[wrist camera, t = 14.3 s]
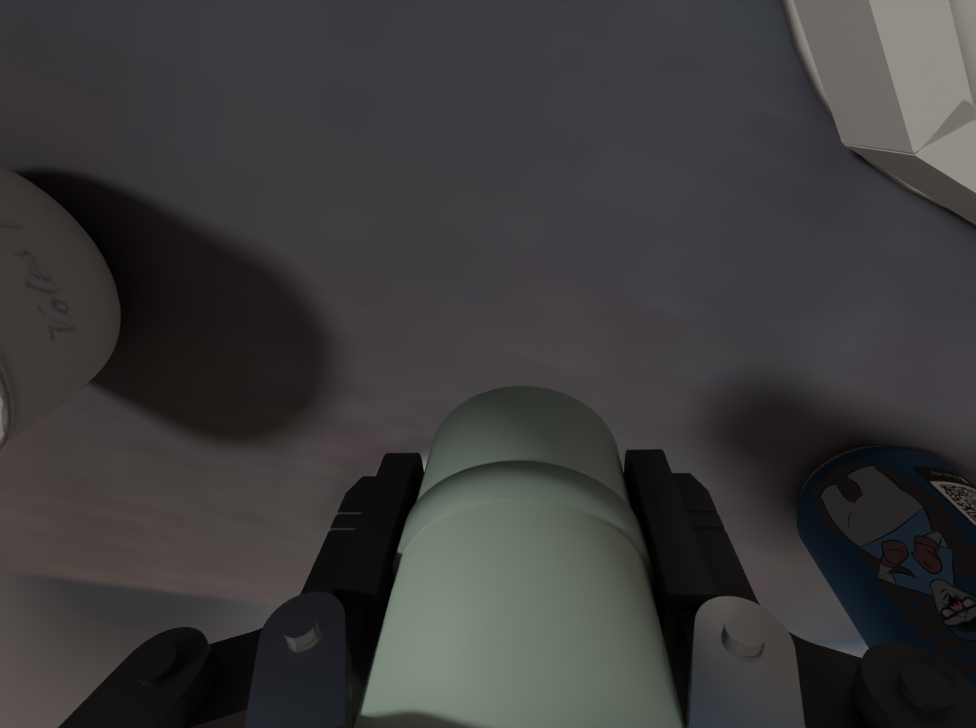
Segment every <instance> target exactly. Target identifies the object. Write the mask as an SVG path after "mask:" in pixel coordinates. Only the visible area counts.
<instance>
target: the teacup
mask: <svg viewBox="0 0 976 728" xmlns="http://www.w3.org/2000/svg"><path fill="white" fill-rule="evenodd" d="M120 323H121V310H120V302H119V297H118V293H117V288H116V285H115V282H114V279H113V276H112V274H111V272H110V270H109V268H108V266H107V264H106V262H105V260H104V258H103V256H102V254H101V253H100V251H99V249H98V248H97V246H96V245H95V243H94V242H93V240H92V239H91V238H90V236H89V235H88V234H87V232H86V231H85V230H84V229H83V228H82V227H81V225H80V224H79V223H78V222H77V221H76V220H75V219H74V218H73V217H72V216H71V214H70V213H69V212H68V211H66V210H65V209H64V208H63V207H62V206H61V205H60V204H59V203H58V202H57V201H55V200H54V199H53V198H52V197H50V196H49V195H48V194H47V193H45V192H44V191H43V190H41V189H40V188H38V187H37V186H36V185H34V184H33V183H31V182H30V181H28V180H27V179H25V178H23V177H22V176H20V175H18V174H16V173H15V172H13V171H11V170H9V169H7V168H6V167H4V166H2V165H0V451H1V449H2V448H3V447H4V446H5V444H7V443H8V442H9V441H11V440H12V439H14V438H15V437H16V436H18V435H19V434H21V433H22V432H24V431H25V430H26V429H28V428H29V427H31V426H32V425H34V424H35V423H36V422H38V421H39V420H41V419H42V418H43V417H45V416H46V415H47V414H49V413H50V412H51V411H53V410H54V409H55V408H57V407H58V406H59V405H61V404H62V403H63V402H65V401H66V400H67V399H69V398H70V397H71V396H73V395H74V394H75V393H76V392H78V391H79V390H80V389H81V388H83V387H84V386H85V385H86V384H87V383H88V382H89V381H90V380H91V379H92V378H94V377H95V376H96V374H97V373H98V372H99V371H100V370H101V369H102V368H103V367H104V365H105V364H106V362H107V361H108V360H109V358H110V356H111V354H112V353H113V351H114V348H115V346H116V343H117V340H118V337H119V332H120Z"/></svg>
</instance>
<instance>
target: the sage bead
mask: <svg viewBox="0 0 976 728" xmlns="http://www.w3.org/2000/svg"><path fill="white" fill-rule="evenodd" d="M392 571H393V575H394V579H395V580H394V584H393V588H392V591H391V595H390V598H389V602H388V606H387V609H386V613H385V617H384V620H383V624H382V627H381V631H380V635H379V638H378V642H377V646H376V649H375V653H374V656H373V660H372V664H371V667H370V671H369V674H368V678H367V682H366V685H365V689H364V693H363V696H362V700H361V703H360V707H359V711H358V714H357V718H356V722H355V725H354V728H685V724H684V720H683V716H682V711H681V707H680V703H679V699H678V695H677V691H676V687H675V683H674V679H673V675H672V670H671V666H670V662H669V658H668V654H667V650H666V646H665V642H664V638H663V634H662V629H661V625H660V621H659V617H658V613H657V609H656V605H655V601H654V597H653V593H652V582H653V573H654V571H653V567H652V563H651V559H650V555H649V551H648V547H647V543H646V539H645V536H644V532H643V530H642V527H641V525H640V522H639V520H638V519H637V517H636V515H635V514H634V512H633V510H632V506H631V502H630V498H629V494H628V490H627V486H626V482H625V478H624V474H623V469H622V465H621V461H620V457H619V453H618V449H617V445H616V442H615V440H614V437H613V435H612V433H611V431H610V430H609V428H608V426H607V425H606V424H605V423H604V421H603V420H602V419H601V418H600V417H599V416H598V415H597V414H596V413H595V412H594V411H593V410H592V409H591V408H589V407H588V406H586V405H585V404H584V403H582V402H580V401H578V400H577V399H575V398H573V397H571V396H569V395H566V394H563V393H561V392H558V391H554V390H550V389H547V388H540V387H533V386H513V387H504V388H499V389H494V390H490V391H487V392H484V393H481V394H479V395H477V396H474V397H472V398H470V399H468V400H467V401H465V402H464V403H462V404H460V405H459V406H458V407H457V408H455V409H454V410H453V411H452V412H451V413H450V414H449V415H448V416H447V417H446V418H445V419H444V421H443V422H442V424H441V425H440V427H439V428H438V430H437V432H436V434H435V437H434V439H433V443H432V446H431V450H430V454H429V457H428V461H427V464H426V468H425V472H424V475H423V479H422V483H421V486H420V490H419V493H418V497H417V501H416V503H415V505H414V506H413V507H412V509H411V510H410V512H409V514H408V517H407V519H406V521H405V524H404V527H403V531H402V534H401V538H400V541H399V545H398V548H397V551H396V555H395V559H394V563H393V567H392Z"/></svg>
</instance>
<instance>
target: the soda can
mask: <svg viewBox="0 0 976 728" xmlns="http://www.w3.org/2000/svg"><path fill="white" fill-rule="evenodd" d="M797 528H798V533H799V535H800V538H801V540H802V541H803V543H804V545H805V546H806V548H807V549H808V551H809V553H810V554H811V556H812V558H813V559H814V561H815V562H816V564H817V566H818V567H819V569H820V570H821V572H822V574H823V575H824V577H825V578H826V580H827V582H828V583H829V585H830V586H831V588H832V590H833V591H834V593H835V594H836V596H837V598H838V599H839V601H840V603H841V604H842V606H843V607H844V609H845V611H846V612H847V614H848V615H849V617H850V619H851V620H852V622H853V623H854V625H855V627H856V628H857V630H858V631H859V633H860V635H861V636H862V638H863V639H864V641H865V643H866V644H867V646H868V648H869V649H870V648H871V647H872V646H875V645H877V644H881V643H900V644H906V645H910V646H913V647H916V648H919V649H921V650H924V651H926V652H928V653H930V654H932V655H934V656H936V657H938V658H939V659H941V660H943V661H944V662H946V663H947V664H949V665H950V666H952V667H953V668H954V669H956V670H957V671H958V672H959V673H960V674H961V675H963V676H964V677H965V678H966V679H967V680H968V681H969V682H970V683H971V684H972V685H973V686H974V687H975V688H976V487H975V486H974V485H973V484H972V483H971V482H969V481H968V480H967V479H966V478H965V477H964V476H963V475H961V474H960V473H959V472H958V471H957V470H956V469H954V468H953V467H952V466H951V465H950V464H948V463H947V462H945V461H944V460H942V459H940V458H938V457H935V456H933V455H930V454H927V453H924V452H919V451H915V450H910V449H904V448H898V447H892V446H884V445H873V446H864V447H859V448H855V449H851V450H848V451H845V452H843V453H840V454H838V455H836V456H834V457H832V458H830V459H829V460H827V461H825V462H824V463H823V464H821V465H820V466H819V467H818V468H816V469H815V470H814V471H813V472H812V473H811V475H810V476H809V477H808V478H807V480H806V481H805V483H804V485H803V487H802V490H801V493H800V498H799V503H798V509H797Z"/></svg>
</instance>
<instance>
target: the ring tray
mask: <svg viewBox="0 0 976 728" xmlns="http://www.w3.org/2000/svg"><path fill="white" fill-rule="evenodd" d="M780 1H781V4H782V8H783V12H784V15H785V19H786V22H787V26H788V30H789V33H790V37H791V41H792V44H793V48H794V50H795V53H796V55H797V57H798V59H799V62H800V64H801V66H802V68H803V71H804V73H805V75H806V77H807V80H808V82H809V84H810V86H811V89H812V91H813V93H814V95H815V96H816V98H817V99H818V101H819V102H820V104H821V106H822V107H823V109H824V110H825V112H826V113H827V115H828V116H829V118H830V119H831V121H832V122H833V124H834V125H835V127H836V128H837V130H838V132H839V135H840V138H841V141H842V143H845V144H844V146H846V147H848V148H849V149H851V150H853V151H854V152H856V153H858V154H859V155H861V156H862V157H863V158H864V159H865V160H866V161H867V162H868V163H869V164H871V165H872V166H873V167H875V168H876V169H877V170H879V171H880V172H881V173H883V174H884V175H886V176H887V177H888V178H890V179H891V180H892V181H894V182H895V183H896V184H898V185H899V186H901V187H902V188H904V189H906V190H908V191H910V192H912V193H914V194H916V195H918V196H920V197H922V198H924V199H926V200H928V201H930V202H932V203H934V204H936V205H939V206H941V207H945V208H948V209H950V210H951V211H953V212H955V213H956V214H958V215H960V216H961V217H963V218H965V219H966V220H968V221H970V222H971V223H973V224H974V225H976V0H780Z"/></svg>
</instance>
